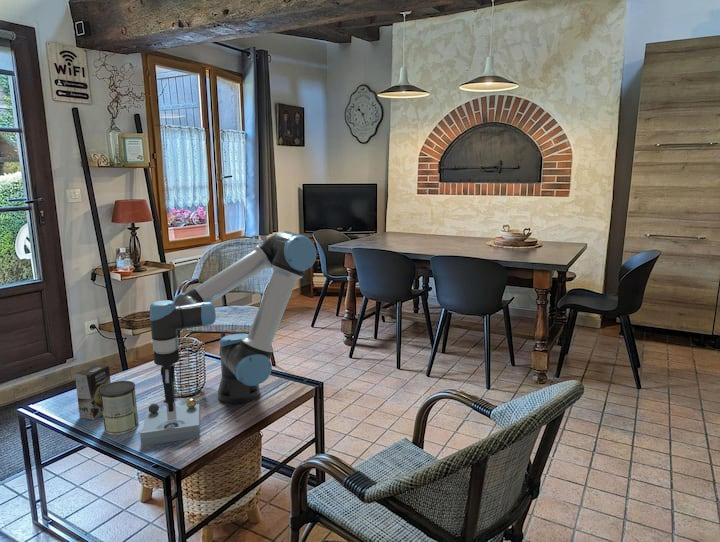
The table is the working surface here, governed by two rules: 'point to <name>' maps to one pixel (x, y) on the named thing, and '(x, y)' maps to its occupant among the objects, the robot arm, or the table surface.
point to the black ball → (153, 408)
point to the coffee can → (119, 407)
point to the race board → (158, 424)
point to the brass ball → (191, 403)
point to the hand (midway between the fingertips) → (172, 418)
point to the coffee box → (91, 390)
